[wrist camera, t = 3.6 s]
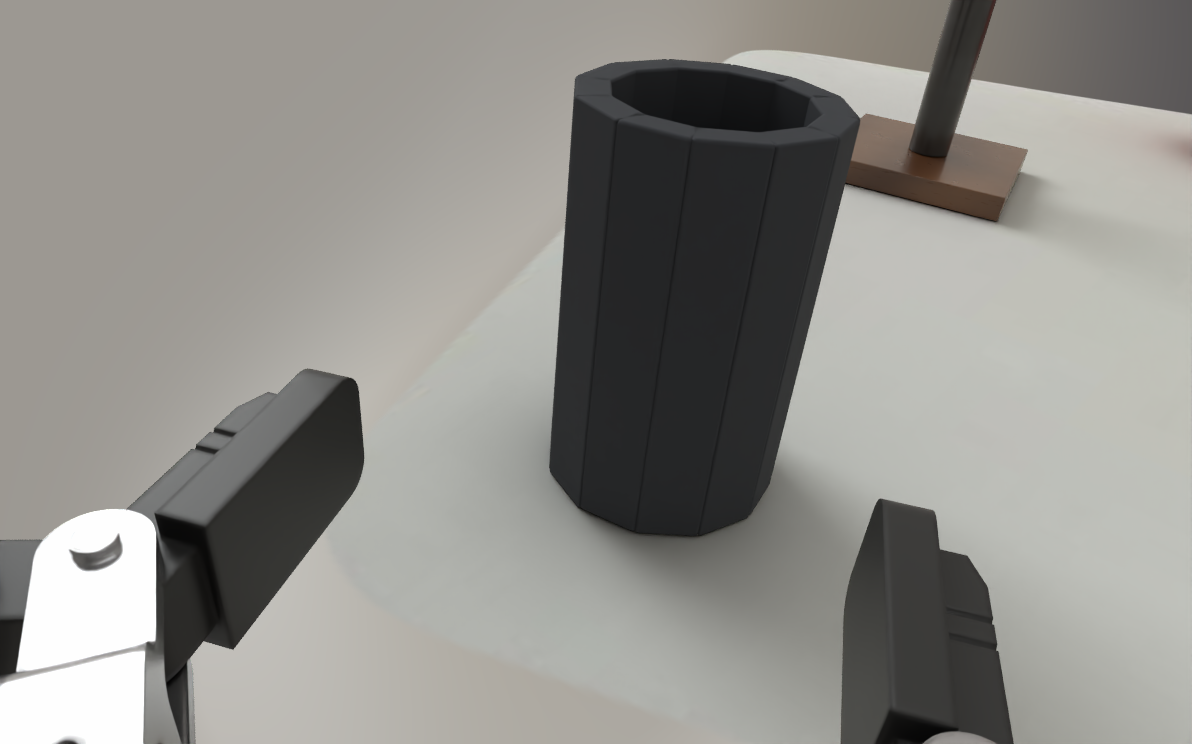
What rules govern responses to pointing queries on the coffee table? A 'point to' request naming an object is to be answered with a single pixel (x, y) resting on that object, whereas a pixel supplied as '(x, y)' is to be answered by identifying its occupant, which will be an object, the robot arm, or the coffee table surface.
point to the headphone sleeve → (689, 284)
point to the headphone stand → (941, 134)
